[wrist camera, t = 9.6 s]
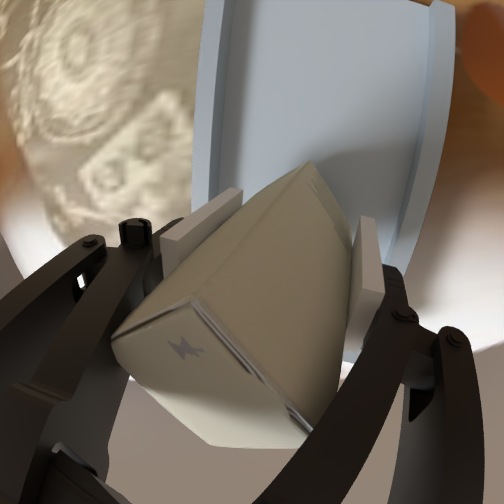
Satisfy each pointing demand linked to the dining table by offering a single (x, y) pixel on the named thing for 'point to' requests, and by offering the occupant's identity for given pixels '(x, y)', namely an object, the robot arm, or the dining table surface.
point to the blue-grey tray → (327, 105)
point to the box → (251, 320)
